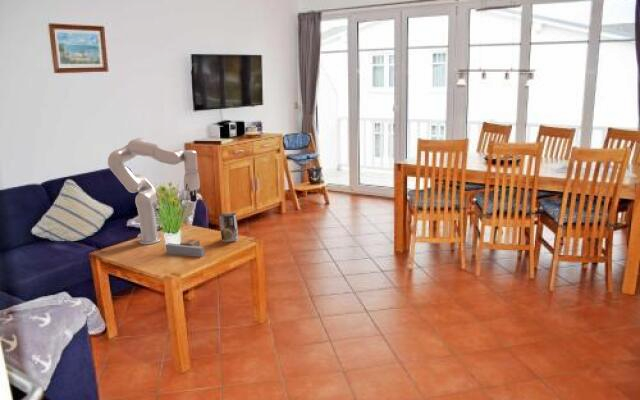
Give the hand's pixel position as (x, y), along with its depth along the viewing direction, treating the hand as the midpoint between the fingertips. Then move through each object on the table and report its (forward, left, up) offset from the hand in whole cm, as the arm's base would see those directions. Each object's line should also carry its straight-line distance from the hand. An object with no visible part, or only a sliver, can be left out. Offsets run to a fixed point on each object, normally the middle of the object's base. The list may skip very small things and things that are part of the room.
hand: (193, 201), depth 324 cm
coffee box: (+20, +5, -25) cm, 32 cm away
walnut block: (+8, -18, -25) cm, 32 cm away
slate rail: (+8, -23, -25) cm, 35 cm away
